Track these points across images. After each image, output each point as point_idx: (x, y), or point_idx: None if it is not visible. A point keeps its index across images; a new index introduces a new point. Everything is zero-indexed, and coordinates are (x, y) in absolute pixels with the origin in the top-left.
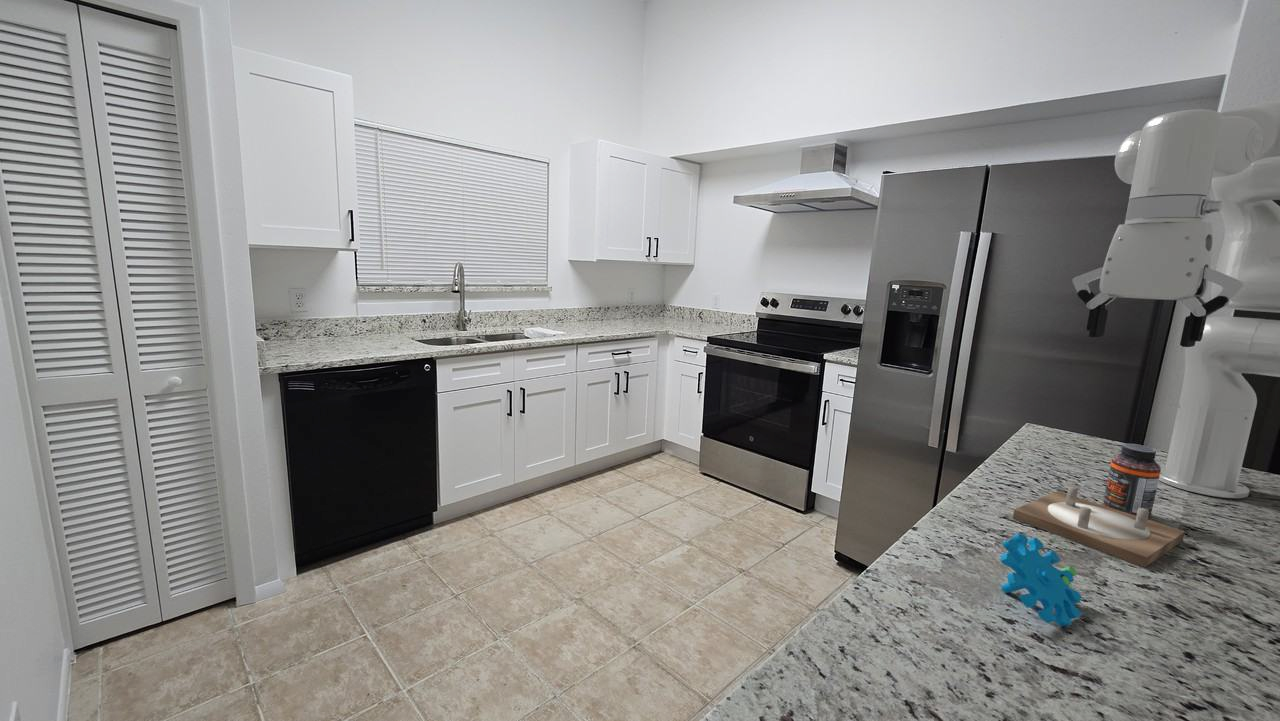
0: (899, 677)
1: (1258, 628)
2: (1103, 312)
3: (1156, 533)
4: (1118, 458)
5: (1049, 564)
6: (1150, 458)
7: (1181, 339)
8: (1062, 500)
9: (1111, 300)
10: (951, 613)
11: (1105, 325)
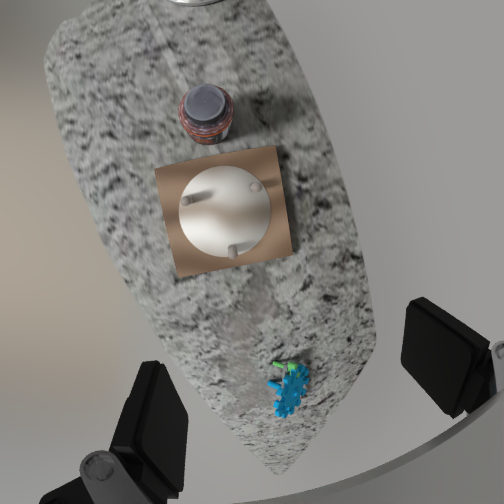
0: (292, 447)
1: (360, 267)
2: (164, 467)
3: (267, 183)
4: (190, 125)
5: (291, 386)
6: (224, 109)
7: (410, 372)
8: (175, 193)
9: (151, 502)
10: (272, 416)
11: (154, 389)
